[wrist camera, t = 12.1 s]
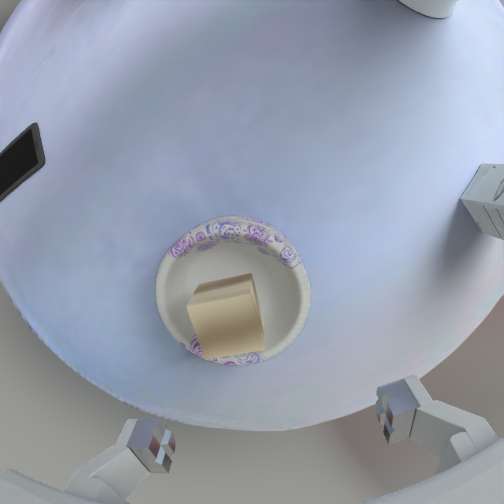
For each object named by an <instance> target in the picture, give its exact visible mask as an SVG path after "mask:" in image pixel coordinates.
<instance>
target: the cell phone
mask: <svg viewBox="0 0 504 504" xmlns="http://www.w3.org/2000/svg"><path fill="white" fill-rule="evenodd" d="M44 164H45V155H44V151H43V147H42V142H41V137H40V132H39V127H38V124H37V123H33V124H31V125H30V126H29V127H28V128H27V129H25V130H24V131H23V132H22V133H21V134H20V135H19V136H18V137H16V138H15V139H14V140H13V141H12V142H11V143H10V144H9V145H8V146H7V147H6V148H5V149H4V150H3V151H2V152H1V153H0V201H1V200H3V199H4V198H5V197H6V196H7V195H8V194H9V193H10V192H12V191H13V190H14V189H15V188H16V187H17V186H19V185H20V184H21V183H22V182H24V181H25V180H26V179H27V178H28V177H30V176H31V175H32V174H34V173H35V172H36V171H37V170H39V169H40V168H41V167H42V166H43V165H44Z"/></svg>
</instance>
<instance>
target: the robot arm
mask: <svg viewBox="0 0 504 504" xmlns="http://www.w3.org/2000/svg"><path fill="white" fill-rule="evenodd" d="M399 1H400V2H402V3H403V4H405V5H406V6H408V7H409V8H411V9H413V10H415V11H417V12H419V13H421V14H424V15H426V16H430V17H434V18H445V17H448V16H449V15H450V14H451V13H452V11H453V9H454V7H455V5H456V3H457V2H458V0H399ZM377 397H378V400H377V401H376V414H377V418H378V421H379V423H380V424H381V425H383V426H384V431H383V433H384V435H385V438H386V440H387V443H388V444H393V443H395V442H398V441H402V440H405V439H408V438H409V439H410V440H412V441H413V442H415V443H417V444H418V445H420V446H421V447H423V448H424V449H426V450H428V451H429V452H431V453H432V454H434V455H436V456H437V457H439V458H441V460H440V462H439V464H438V466H437V468H436V470H435V472H434V473H435V476H432V477H430V478H428V479H426V480H423V481H421V482H418V483H416V484H413V485H411V486H408V487H406V488H403V489H400V490H398V491H395V492H392V493H389V494H386V495H383V496H380V497H377V498H373V499H370V500H367V501H363V502H360V503H356V504H504V437H503V438H501V439H498V437H497V436H496V434H495V433H494V431H493V430H492V428H491V427H490V426H489V424H488V423H487V421H486V420H485V419H484V418H482V417H479V416H477V415H474V414H472V413H469V412H466V411H463V410H461V409H458V408H456V407H453V406H451V405H448V404H445V403H443V402H440V401H438V400H435V401H433V400H432V399H431V397H430V395H429V394H428V392H427V391H426V389H425V388H424V387H423V385H422V383H421V382H420V380H419V379H418V377H417V376H416V375H412V376H409V377H406V378H403V379H400V380H397V381H394V382H392V383H389V384H386V385H382V386H379V387H378V388H377ZM166 427H167V425H166V423H165V422H164V420H154V419H153V420H152V419H131V418H130V419H128V420H127V421H126V423H125V425H124V427H123V429H122V431H121V434H120V436H119V438H118V440H117V442H116V444H115V446H111V447H109V448H108V449H106V450H105V451H104V452H102V453H101V454H99V455H98V456H96V457H95V458H94V459H92V460H91V461H89V462H88V463H86V464H85V465H83V466H82V467H80V468H79V469H77V470H76V471H75V472H74V474H73V476H72V478H71V480H70V482H69V484H68V486H67V488H66V490H65V491H62V490H59V489H56V488H54V487H51V486H49V485H46V484H44V483H42V482H39V481H37V480H35V479H33V478H30V477H28V476H26V475H24V474H22V473H20V472H18V471H16V470H13V469H6V470H3V471H1V472H0V504H129V503H128V502H127V501H125V500H124V499H125V498H126V497H127V496H128V495H129V494H130V493H131V492H132V491H133V490H134V489H135V488H136V487H137V486H138V485H139V484H140V483H141V482H142V481H143V480H144V479H145V478H146V477H147V476H148V475H149V474H150V472H152V473H169V470H170V466H171V463H172V460H171V459H170V456H171V455H172V454H173V453H174V451H175V439H174V436H173V434H172V433H171V432H170V431H168V430H166Z"/></svg>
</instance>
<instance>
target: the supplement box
mask: <svg viewBox="0 0 504 504" xmlns="http://www.w3.org/2000/svg"><path fill="white" fill-rule="evenodd" d="M460 200H461V201H462V203H463V204H464V206H465V207H466V209H467V210H468V211H469V213H470V215H471V216H472V218H473V219H474V221H475V222H476V224H477V225H478V227H479V228H480V230H481V232H483V233H486V234H489V235H491V236H494V237H497V238H500V239H502V240H504V164H481V166H480V168H479V169H478V171H477V173H476V175H475V176H474V178H473V180H472V181H471V183H470V184H469V186H468V187H467V189H466V190H465V192H464V193H463V195H462V196H461V197H460Z"/></svg>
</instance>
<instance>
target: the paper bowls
mask: <svg viewBox="0 0 504 504" xmlns="http://www.w3.org/2000/svg"><path fill="white" fill-rule="evenodd" d="M249 273H252V276H253V280H254V284H255V288H256V292H257V296H258V300H259V304H260V308H261V312H262V316H263V320H264V344H265V350H261V351H256V352H250V353H244V354H238V355H232V356H226V357H220V358H213V359H206V360H208V361H211V362H214V363H219V364H224V365H233V366H236V365H237V366H238V365H249V364H255V363H258V362H262V361H265V360H267V359H270V358H272V357H274V356H275V355H277V354H279V353H280V352H282V351H283V350H285V349H286V348H287V347H288V346H289V345H290V344H291V343H292V342H293V341H294V340H295V339H296V338H297V336H298V335H299V334H300V332H301V330H302V329H303V327H304V325H305V323H306V320H307V318H308V314H309V310H310V304H311V289H310V282H309V278H308V275H307V272H306V269H305V267H304V265H303V262H302V260H301V258H300V256H299V254H298V253H297V251H296V249H295V248H294V246H293V245H292V244H291V242H290V241H289V240H288V239H287V238H286V237H285V236H284V235H283V234H282V233H281V232H279V231H278V230H277V229H275V228H274V227H272V226H270V225H268V224H267V223H264V222H262V221H259V220H256V219H253V218H249V217H244V216H225V217H219V218H215V219H212V220H209V221H206V222H204V223H202V224H200V225H198V226H196V227H195V228H193V229H191V230H190V231H189V232H187V233H186V234H184V235H183V236H182V237H180V238H179V239H178V240H177V241H176V242H175V243H174V244H173V246H172V247H170V249H169V250H168V251H167V253H166V254H165V256H164V257H163V259H162V261H161V263H160V266H159V268H158V272H157V276H156V283H155V298H156V304H157V308H158V311H159V314H160V317H161V319H162V321H163V323H164V325H165V326H166V328H167V329H168V331H169V332H170V334H171V335H172V336H173V337H174V339H175V340H176V341H178V343H179V344H181V345H182V346H183V347H184V348H186V349H187V350H188V351H190V352H192V353H193V354H195V355H197V356H199V357H200V358H202V359H205V358H204V355H203V352H202V350H201V347H200V344H199V341H198V339H197V336H196V333H195V330H194V328H193V325H192V322H191V319H190V316H189V313H188V310H187V308H186V306H187V304H188V302H189V301H190V299H191V297H192V295H193V293H194V292H195V290H196V288H197V286H198V285H199V284H202V283H207V282H212V281H216V280H221V279H226V278H230V277H235V276H240V275H244V274H249Z"/></svg>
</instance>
